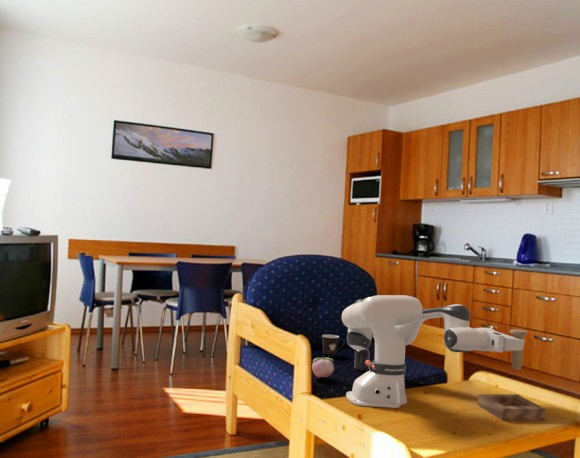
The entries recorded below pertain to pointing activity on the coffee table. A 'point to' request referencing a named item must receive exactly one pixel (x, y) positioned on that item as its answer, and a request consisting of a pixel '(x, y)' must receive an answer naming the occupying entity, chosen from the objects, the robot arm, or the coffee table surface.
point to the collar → (511, 407)
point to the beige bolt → (517, 355)
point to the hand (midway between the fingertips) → (519, 340)
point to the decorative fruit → (322, 367)
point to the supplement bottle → (361, 359)
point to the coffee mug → (331, 344)
